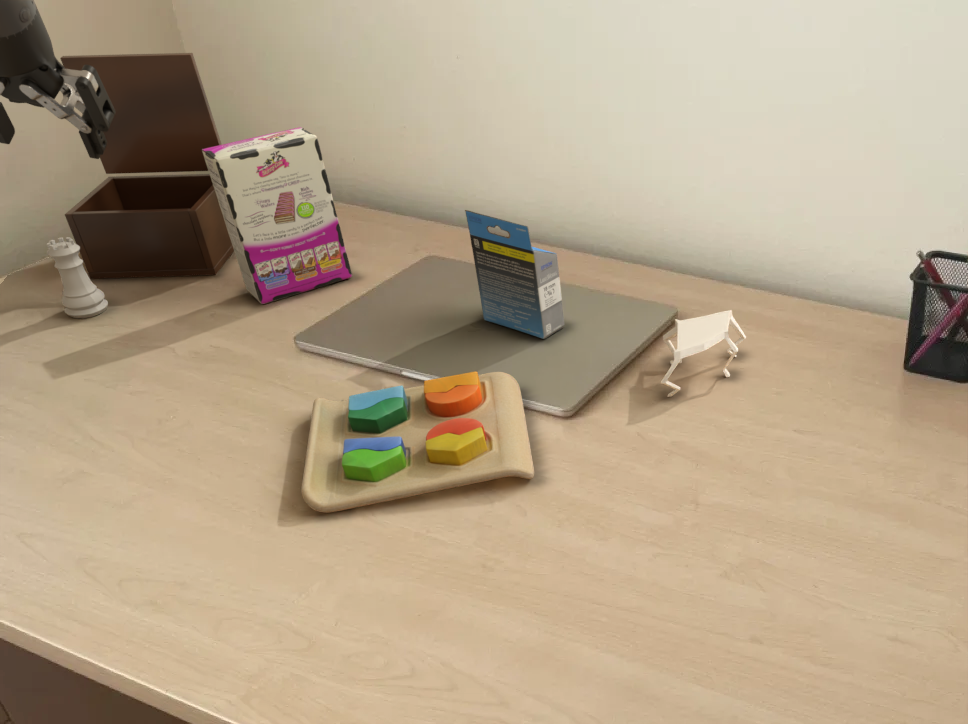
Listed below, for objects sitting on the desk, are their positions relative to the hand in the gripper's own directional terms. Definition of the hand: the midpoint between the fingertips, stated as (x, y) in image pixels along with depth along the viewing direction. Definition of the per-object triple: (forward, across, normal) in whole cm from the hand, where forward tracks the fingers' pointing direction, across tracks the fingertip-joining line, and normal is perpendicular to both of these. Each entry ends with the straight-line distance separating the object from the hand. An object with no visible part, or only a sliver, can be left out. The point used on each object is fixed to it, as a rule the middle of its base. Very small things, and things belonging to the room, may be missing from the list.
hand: (53, 145), depth 109 cm
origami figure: (-5, -67, +21) cm, 71 cm away
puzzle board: (-6, -43, +33) cm, 54 cm away
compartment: (+21, -5, -5) cm, 22 cm away
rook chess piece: (+15, -1, +9) cm, 18 cm away
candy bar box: (+14, -23, +3) cm, 27 cm away
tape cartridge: (+4, -50, +11) cm, 51 cm away
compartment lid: (+10, -2, -16) cm, 19 cm away
